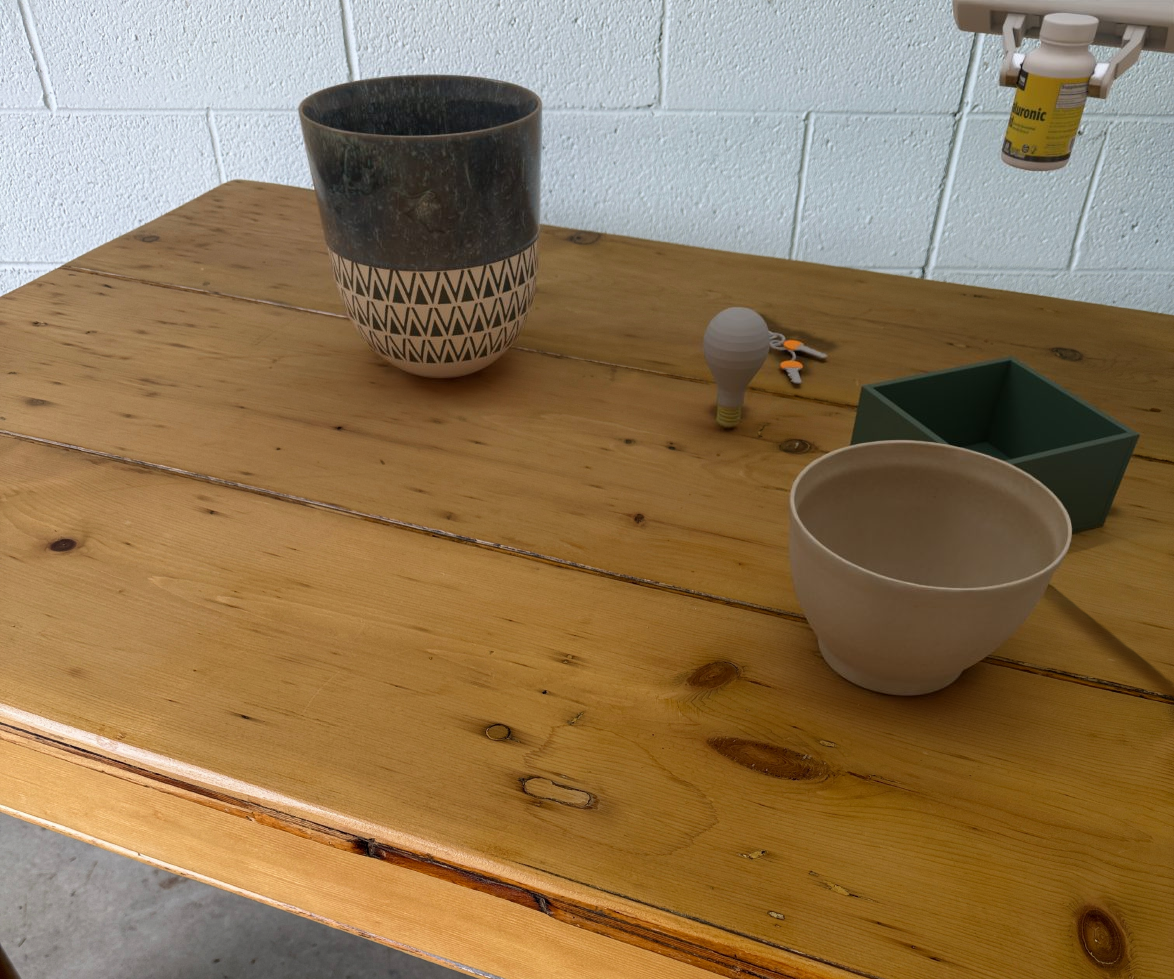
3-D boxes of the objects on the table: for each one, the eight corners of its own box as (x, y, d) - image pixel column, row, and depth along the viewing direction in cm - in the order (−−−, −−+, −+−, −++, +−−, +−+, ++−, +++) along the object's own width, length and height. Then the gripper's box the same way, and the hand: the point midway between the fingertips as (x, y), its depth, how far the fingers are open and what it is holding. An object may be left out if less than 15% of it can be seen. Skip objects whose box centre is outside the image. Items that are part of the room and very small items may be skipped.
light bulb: (763, 416, 93) (778, 300, 86) (753, 445, 89) (768, 326, 82) (702, 408, 94) (712, 292, 87) (690, 437, 90) (700, 318, 83)
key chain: (702, 341, 103) (703, 332, 103) (757, 324, 107) (758, 315, 106) (793, 388, 96) (794, 379, 96) (849, 368, 99) (851, 359, 99)
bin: (986, 442, 90) (1011, 355, 84) (1103, 526, 80) (1140, 434, 75) (843, 474, 86) (861, 385, 80) (950, 565, 76) (977, 471, 71)
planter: (303, 393, 95) (250, 122, 80) (398, 313, 108) (367, 66, 93) (502, 427, 91) (486, 147, 76) (576, 339, 104) (575, 84, 89)
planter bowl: (717, 651, 69) (734, 504, 62) (860, 555, 77) (891, 415, 70) (927, 775, 61) (977, 624, 54) (1062, 654, 69) (1123, 507, 62)
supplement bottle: (986, 156, 88) (1020, 13, 81) (1042, 151, 89) (1080, 8, 82) (1023, 175, 84) (1062, 26, 77) (1081, 169, 85) (1125, 22, 78)
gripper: (988, -130, 82) (920, 44, 83) (1275, -116, 75) (1197, 75, 76) (988, -64, 88) (925, 98, 89) (1254, -45, 81) (1182, 131, 82)
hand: (1052, 88), depth 82 cm, fingers closed on supplement bottle, 5 cm apart
